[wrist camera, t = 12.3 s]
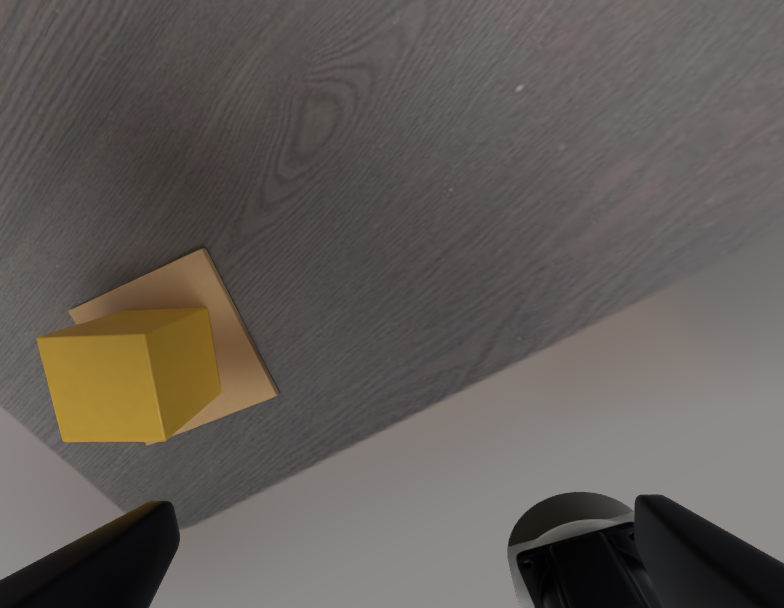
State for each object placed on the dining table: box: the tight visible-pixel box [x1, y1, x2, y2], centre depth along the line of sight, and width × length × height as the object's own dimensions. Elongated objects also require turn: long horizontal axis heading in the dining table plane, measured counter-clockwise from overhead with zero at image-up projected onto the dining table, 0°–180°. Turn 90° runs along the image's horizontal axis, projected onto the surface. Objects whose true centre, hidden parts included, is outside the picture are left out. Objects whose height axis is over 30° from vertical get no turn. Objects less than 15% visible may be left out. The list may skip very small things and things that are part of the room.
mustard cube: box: [37, 307, 221, 442], centre depth 18 cm, size 4×4×4 cm
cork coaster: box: [68, 248, 279, 446], centre depth 20 cm, size 8×8×1 cm
